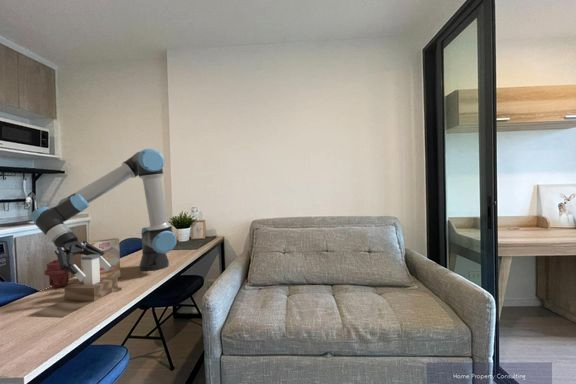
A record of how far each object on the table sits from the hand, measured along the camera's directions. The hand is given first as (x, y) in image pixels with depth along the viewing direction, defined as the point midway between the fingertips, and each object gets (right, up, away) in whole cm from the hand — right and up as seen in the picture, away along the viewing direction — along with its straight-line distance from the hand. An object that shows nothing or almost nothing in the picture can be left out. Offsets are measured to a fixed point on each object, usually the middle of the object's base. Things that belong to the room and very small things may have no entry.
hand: (96, 273), depth 120 cm
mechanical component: (-27, -10, +14) cm, 32 cm away
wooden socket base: (-3, -10, -6) cm, 12 cm away
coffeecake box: (-12, -10, +23) cm, 28 cm away
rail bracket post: (-2, -9, +1) cm, 9 cm away
